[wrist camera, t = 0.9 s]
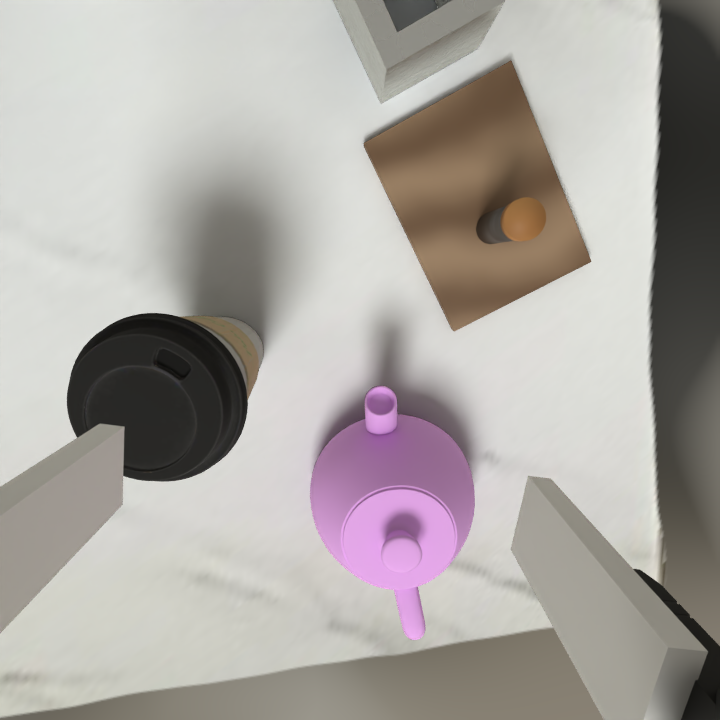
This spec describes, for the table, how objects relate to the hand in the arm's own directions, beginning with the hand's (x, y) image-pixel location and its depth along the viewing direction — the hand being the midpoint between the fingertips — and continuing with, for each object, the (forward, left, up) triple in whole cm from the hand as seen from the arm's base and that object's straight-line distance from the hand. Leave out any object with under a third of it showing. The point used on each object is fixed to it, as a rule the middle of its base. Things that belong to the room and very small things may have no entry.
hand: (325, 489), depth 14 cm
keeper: (-5, +15, -23) cm, 28 cm away
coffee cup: (-4, -9, -24) cm, 25 cm away
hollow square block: (-19, +15, -23) cm, 34 cm away
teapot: (+12, -2, -24) cm, 26 cm away
